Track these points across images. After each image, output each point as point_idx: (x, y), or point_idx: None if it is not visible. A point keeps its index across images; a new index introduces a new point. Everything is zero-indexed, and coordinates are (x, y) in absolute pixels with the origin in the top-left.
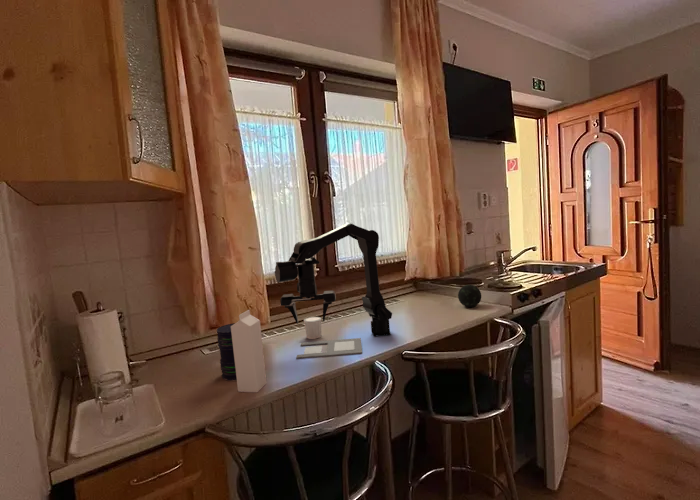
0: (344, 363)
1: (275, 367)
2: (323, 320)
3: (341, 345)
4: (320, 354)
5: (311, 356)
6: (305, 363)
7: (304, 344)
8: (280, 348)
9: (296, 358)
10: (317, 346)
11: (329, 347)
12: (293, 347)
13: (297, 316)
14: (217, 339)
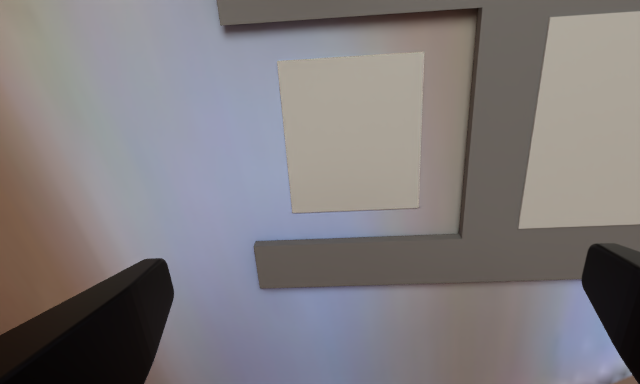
0: (554, 378)
1: (175, 368)
2: (595, 301)
3: (597, 118)
4: (419, 267)
5: (359, 283)
6: (333, 347)
7: (255, 17)
8: (54, 49)
9: (262, 284)
10: (380, 60)
11: (489, 139)
12: (165, 43)
13: (104, 315)
14: None
